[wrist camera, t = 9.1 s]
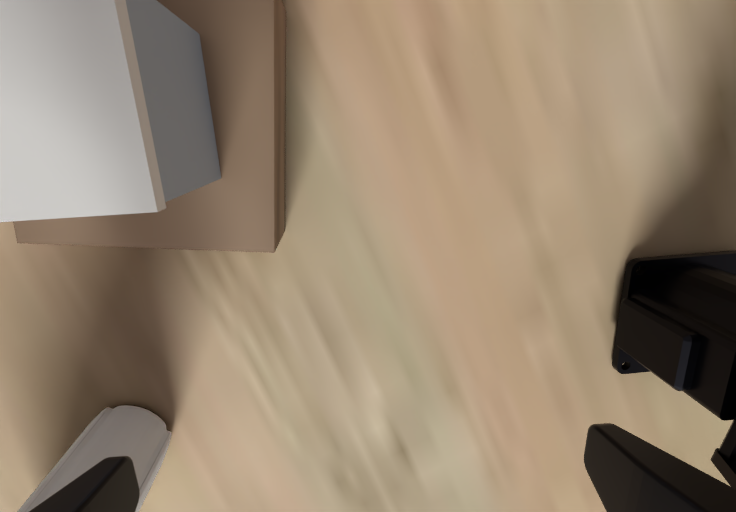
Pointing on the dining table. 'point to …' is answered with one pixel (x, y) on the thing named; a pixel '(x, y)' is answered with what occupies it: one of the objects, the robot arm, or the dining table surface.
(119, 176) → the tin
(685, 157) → the dining table surface
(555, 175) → the dining table surface
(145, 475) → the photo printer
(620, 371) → the robot arm
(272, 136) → the walnut block
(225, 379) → the dining table surface
